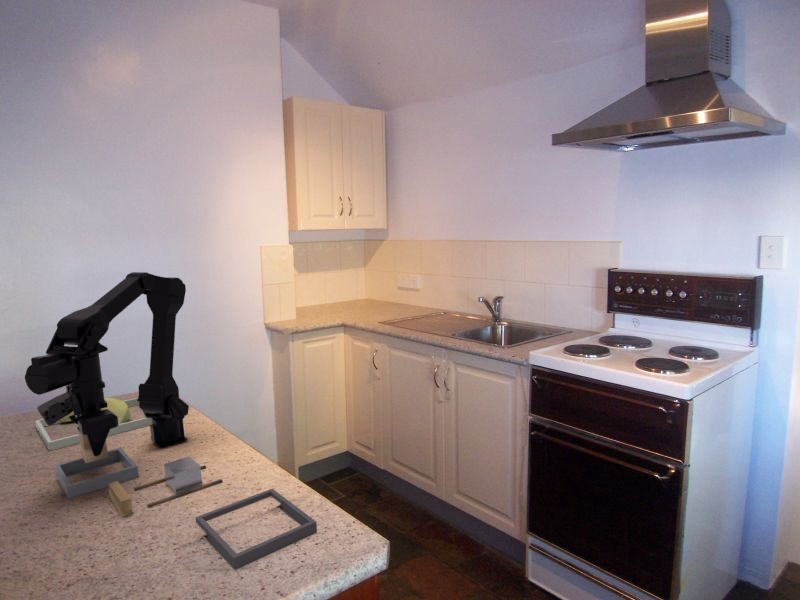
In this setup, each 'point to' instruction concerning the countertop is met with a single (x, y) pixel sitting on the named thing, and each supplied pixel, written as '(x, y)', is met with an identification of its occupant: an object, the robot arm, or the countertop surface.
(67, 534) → the countertop surface
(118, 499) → the track
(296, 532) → the dark grey square frame
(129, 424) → the fruit rim
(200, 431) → the countertop surface
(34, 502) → the countertop surface
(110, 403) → the banana
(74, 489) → the tray
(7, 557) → the countertop surface
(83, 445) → the block
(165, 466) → the grey small block
